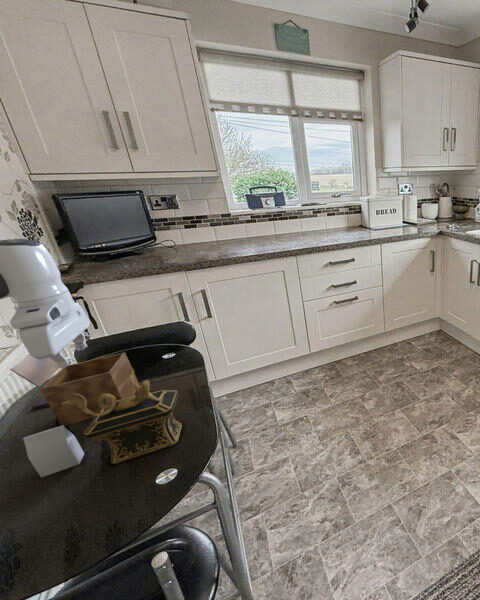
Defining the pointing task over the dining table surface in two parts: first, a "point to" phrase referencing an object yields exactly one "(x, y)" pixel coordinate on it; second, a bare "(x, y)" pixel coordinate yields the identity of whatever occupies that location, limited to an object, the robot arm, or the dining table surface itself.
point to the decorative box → (134, 421)
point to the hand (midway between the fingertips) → (74, 357)
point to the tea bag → (53, 450)
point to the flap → (35, 369)
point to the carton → (88, 386)
